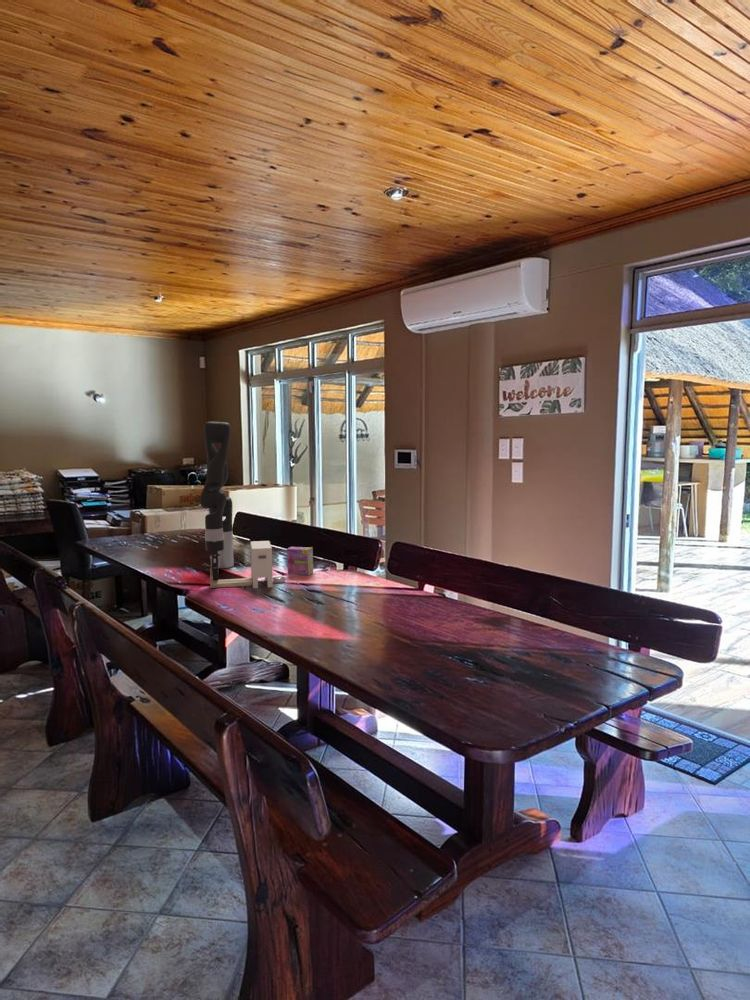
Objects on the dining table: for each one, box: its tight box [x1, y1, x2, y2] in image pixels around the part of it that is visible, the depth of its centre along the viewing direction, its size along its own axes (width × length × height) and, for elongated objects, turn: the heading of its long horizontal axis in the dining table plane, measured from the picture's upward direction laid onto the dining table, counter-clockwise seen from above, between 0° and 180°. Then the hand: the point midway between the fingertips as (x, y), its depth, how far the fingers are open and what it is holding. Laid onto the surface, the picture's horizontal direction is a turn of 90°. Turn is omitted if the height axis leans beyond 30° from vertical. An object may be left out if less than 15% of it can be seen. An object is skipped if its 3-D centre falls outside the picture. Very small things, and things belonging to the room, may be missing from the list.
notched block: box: [250, 540, 274, 589], centre depth 271 cm, size 19×8×16 cm, turn 13°
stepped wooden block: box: [209, 566, 253, 589], centre depth 269 cm, size 7×17×8 cm, turn 103°
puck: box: [273, 575, 286, 584], centre depth 274 cm, size 5×5×2 cm
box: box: [286, 546, 314, 576], centre depth 289 cm, size 10×6×12 cm, turn 73°
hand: (215, 579), depth 268 cm, fingers open, 4 cm apart
